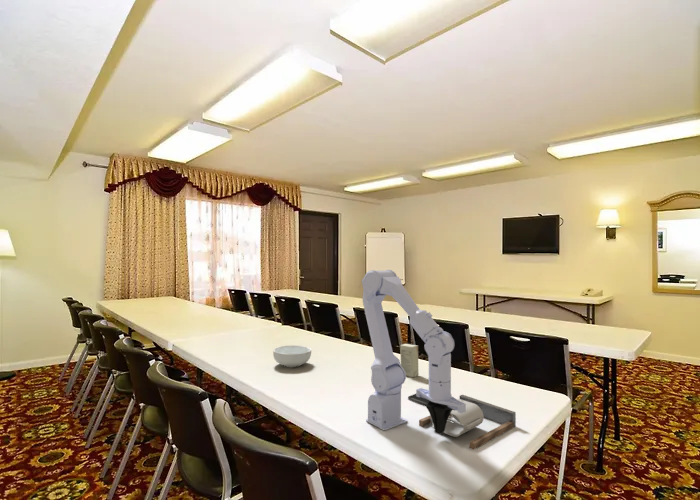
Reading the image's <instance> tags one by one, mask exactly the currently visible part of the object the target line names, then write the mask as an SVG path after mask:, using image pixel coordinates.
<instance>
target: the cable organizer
mask: <svg viewBox="0 0 700 500" xmlns="http://www.w3.org/2000/svg"><path fill="white" fill-rule="evenodd" d="M456 399H457V398H456ZM457 400H459V401H460V402H462V403H465V404H466V412H463V413H459V412H458V411H457V410H454V409H453V410H452V411H451V413H450V414H451V415H450V416H452V418H450V417H448V420H447V423H446V426H445V431H444V432H443V434H446V435H449V436H451V437H453V438H454V437H455V438H458V437H459V436H461V435H463V434H465V433H466V432H469V431H471V430H472V429H474V428H476V427H478V426H480V425H481V424H482V423H483V422H484V419H485V418H484V416H483V412H482V410H481V409H480V407H479V406H478V405H476V404H474V403H471V402H468V401H464V400H461V399H460V398H458V399H457ZM431 422H432V423H431V424H432V427H431V428H432V429H434V425H433V421H432V418H431ZM434 430H435V429H434Z"/></svg>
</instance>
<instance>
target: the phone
mask: <svg viewBox="0 0 700 500" xmlns="http://www.w3.org/2000/svg"><path fill="white" fill-rule="evenodd" d="M407 399H408V401H410V402H412V403H415V404H419V405H421V406H423V407H426V404H428V403H429V400H428V399H425V398H422V397H417V396H416V393H414V394H411V395H408V397H407Z"/></svg>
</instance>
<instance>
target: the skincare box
mask: <svg viewBox="0 0 700 500" xmlns="http://www.w3.org/2000/svg"><path fill="white" fill-rule="evenodd" d="M399 350H400V364H401V366H402V368H403V369H404V371H405V374H406V377H410V378H415V377H417V376H419V374H420V373H419V345H416V344H411V343H403V344H400V347H399Z"/></svg>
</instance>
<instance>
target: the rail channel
mask: <svg viewBox="0 0 700 500" xmlns="http://www.w3.org/2000/svg"><path fill="white" fill-rule="evenodd" d="M459 399H461V400H464V401H468V402H471V403H474V404H476V405H478V406H479V407H480V409H481V410H482V412H483V416H484V419H487V420H490V421H493V422H495V423H499V424H501V425H498V426H497V427H495V428H493V429H491V430H489V431H487V432H486V433H484V434H481V435H480V436H478V437H475V439H472V440H470V441H469V442H468V445H469V449H471V451H472V450H473V451H474V450H476V449H478V448H480V447H482V446H484V445H485V444H487V443H489V442H491V441H492V440H495V439H496V438H498V437H500V436H501V435H503V434H505V433H507V432H509V431H511V430H512V429H513V428H515V427H516V426H517V425H516V422H517V421H516V415H517V414H516V411H514V410H510V409H507V408H504V407H500V406H498V405H495V404H492V403H488V402H486V401H483V400H480V399H477V398H473V397H472V396H468V395H464V394H461V395H459ZM449 416H452V415H451V414H450V415H449ZM430 424H432V422H431V415H430V414H429V415H428V416H425V417H422V418H420V419H419V420H418V425H419V427H420V426H421V427H423V428H424V427H425V426H427V425H430Z"/></svg>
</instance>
